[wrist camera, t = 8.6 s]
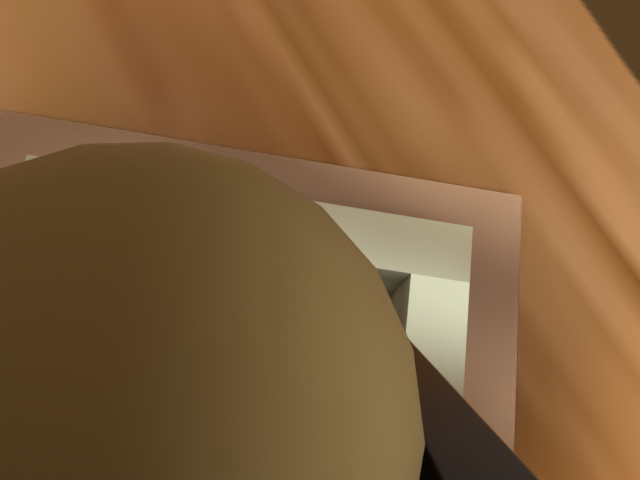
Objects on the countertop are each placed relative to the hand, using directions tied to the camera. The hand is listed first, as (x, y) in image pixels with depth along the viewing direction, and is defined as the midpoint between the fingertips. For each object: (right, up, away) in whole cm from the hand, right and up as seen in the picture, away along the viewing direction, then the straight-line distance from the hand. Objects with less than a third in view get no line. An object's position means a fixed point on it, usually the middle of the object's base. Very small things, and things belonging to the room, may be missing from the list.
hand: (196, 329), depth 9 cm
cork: (-1, -3, +6) cm, 7 cm away
